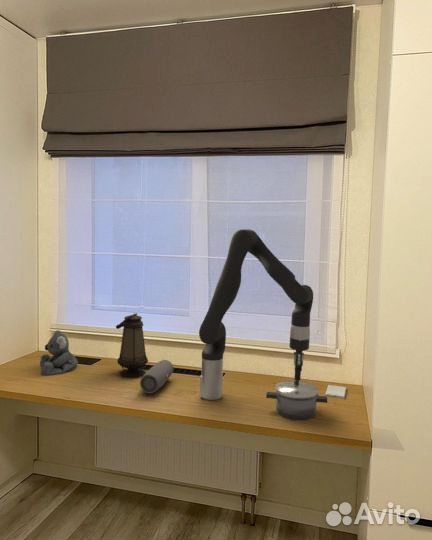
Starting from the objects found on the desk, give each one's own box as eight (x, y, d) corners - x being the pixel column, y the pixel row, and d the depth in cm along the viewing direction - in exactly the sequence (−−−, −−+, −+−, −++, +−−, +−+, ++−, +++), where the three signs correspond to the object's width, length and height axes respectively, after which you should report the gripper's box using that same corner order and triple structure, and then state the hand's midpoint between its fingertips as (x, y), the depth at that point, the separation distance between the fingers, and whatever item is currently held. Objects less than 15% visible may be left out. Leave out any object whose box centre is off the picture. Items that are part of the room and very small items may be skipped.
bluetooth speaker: (159, 397, 191) (159, 374, 190) (138, 395, 193) (138, 372, 192) (174, 379, 213) (174, 359, 212) (156, 378, 215) (156, 357, 214)
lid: (274, 398, 171) (275, 389, 171) (275, 383, 189) (276, 375, 189) (319, 402, 168) (320, 393, 168) (316, 386, 186) (316, 378, 186)
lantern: (139, 381, 209) (140, 318, 207) (110, 378, 213) (110, 316, 210) (154, 369, 227) (154, 311, 224) (126, 366, 231) (127, 309, 228)
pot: (265, 417, 173) (265, 397, 172) (266, 401, 188) (267, 383, 188) (328, 422, 169) (329, 402, 168) (324, 406, 185) (325, 387, 184)
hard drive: (328, 384, 208) (325, 393, 196) (346, 387, 205) (344, 396, 194) (328, 388, 208) (325, 397, 197) (346, 390, 205) (344, 400, 194)
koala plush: (39, 366, 228) (38, 329, 226) (75, 362, 235) (75, 326, 234) (41, 377, 212) (40, 337, 210) (80, 372, 220) (80, 334, 218)
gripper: (289, 331, 179) (287, 373, 181) (290, 340, 166) (287, 384, 168) (308, 333, 178) (306, 375, 180) (310, 341, 165) (308, 386, 167)
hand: (297, 379), depth 174 cm, fingers closed
